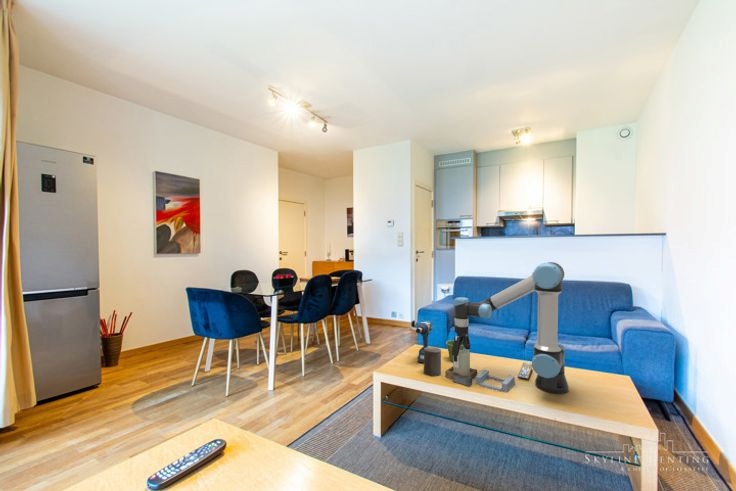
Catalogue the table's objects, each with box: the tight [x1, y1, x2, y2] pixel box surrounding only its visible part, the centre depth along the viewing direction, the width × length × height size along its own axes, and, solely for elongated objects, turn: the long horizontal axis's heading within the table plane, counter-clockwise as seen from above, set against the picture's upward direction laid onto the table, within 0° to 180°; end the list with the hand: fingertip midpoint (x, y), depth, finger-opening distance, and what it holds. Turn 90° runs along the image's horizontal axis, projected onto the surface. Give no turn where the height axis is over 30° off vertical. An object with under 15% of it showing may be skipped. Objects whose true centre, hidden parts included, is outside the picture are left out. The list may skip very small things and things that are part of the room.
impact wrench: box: [415, 320, 434, 364], centre depth 213 cm, size 8×22×25 cm, turn 152°
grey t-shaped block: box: [452, 374, 473, 387], centre depth 180 cm, size 9×4×4 cm, turn 51°
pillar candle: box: [423, 346, 442, 377], centre depth 195 cm, size 10×10×15 cm
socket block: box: [474, 369, 516, 393], centre depth 179 cm, size 16×15×4 cm
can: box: [452, 349, 471, 376], centre depth 189 cm, size 9×9×12 cm
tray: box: [445, 365, 478, 380], centre depth 189 cm, size 13×13×4 cm
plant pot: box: [445, 339, 465, 363], centre depth 216 cm, size 12×12×11 cm
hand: (461, 363), depth 189 cm, fingers open, 13 cm apart
